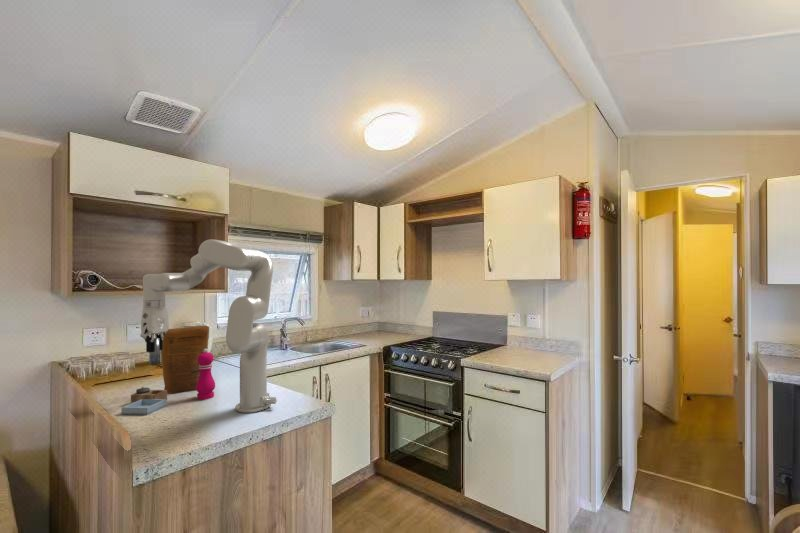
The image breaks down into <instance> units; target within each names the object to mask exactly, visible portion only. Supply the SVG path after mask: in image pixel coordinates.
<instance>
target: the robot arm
mask: <svg viewBox="0 0 800 533" xmlns="http://www.w3.org/2000/svg"><path fill="white" fill-rule="evenodd" d="M189 263H190V266H191V268H189V269H187V270H185V271H183V272H163V273H148V274H145V275H143V277H142V313H141V318H140V319H141V320H140V330H141V331H140V332H141V333H140V335H139V336H140V337H141V338H142V339H143V340H144V342H145V343H146V346H145V347H146V348H145V350H146V353H149V352H155V342H153V341H154V338H160V350H162V349H163V339H164V335H165V334H166V333H167V331H168V329H170V328H169V327H170V326H169V325H170V323H169V313H168V309H167V307H166V293H173V292H185V291H188V290H190V289H192V288H194V287H195V286H197V285H199V284H201V283H202V282H203V281H204V280H205V279H206V277H207V276H208V274H210V273H212V272H213V271H216V270H217V269H218V268H225V269H229V270H232V271H236V272H237V271H241V272H250V273H251V274H250V275H249V278H248V280H247V285H246V292H245V295H242V296H239V297H237V298H235V299H234V300H233V301H232V302H231V305H230V306H229V310H228V316H227V324H226V332H225V333H226V334H225V341H226V342H225V343H226V346H227V348H228V349H229V351H231V352H232V353H235V354H240V356H239V403H237V404H236V405H235V408H234V410H235V411H236V412H239V413H246V414H247V413H256V412H257V411H258V412H261V410H262V411H265V410H267V409H268V407H269V408H270V407H271V406H272V405H276V404H277V396H275V397H274V396H273V397H271V396H270V392H268V391H267V390H268V389H267V385H268V383H267V381H268V380H267V374H268V373H267V371H268V370H267V369H268V368H267V366H268V365H267V363H268V362H267V360H268V359H267V356H268V355H267V354H268V345H269V341H270V340H269V339H270V334H269V331H268V330H269V329H268V328H267V327H266V326H265V325H264V324H262V323H259V322H254V321H258V320H262V319H263V318H265V317H266V316H268V312H269V307H270V299H271V289H272V287H271V286H272V280H273V273H274V270H273V269H274V267H273V261H272V260H271V258H270V257H269V256H268V254H266V253H265V252H263V251H261V250H258V249H256V248H255V249H254V248H249V247H248V248H245V247H240V246H239V247H238V246H234V245H233V244H232V243H231V242H228V241H226V240H220V239H210V238H209V239H207V240H204V241H202V243H200V245H199V247H198V253H197V254H195V255H193V256H192V257H191V258H190V262H189ZM266 408H267V409H266ZM264 409H265V410H264Z"/></svg>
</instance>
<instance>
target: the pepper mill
mask: <svg viewBox="0 0 800 533" xmlns="http://www.w3.org/2000/svg"><path fill="white" fill-rule="evenodd" d="M203 352H204V353H201V354H200V355H199V356H198V359H197V361H198V363H199V364H200V365H199V369H200V376H199V379H198V381H197V384H196V390H195V391H196V392H197V394H196V399H197V400H209V399H212V398H214V397H215V392H214V390H215V388H216V382H215V380H214V378H213V375H212V368H213V362H214V360H215V359H214V358H215V357H214V355H213V353H211V352H209V349H204V350H203Z"/></svg>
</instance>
